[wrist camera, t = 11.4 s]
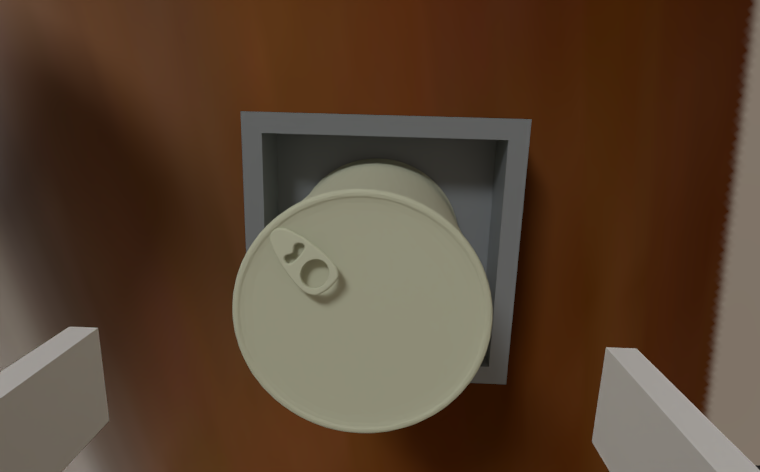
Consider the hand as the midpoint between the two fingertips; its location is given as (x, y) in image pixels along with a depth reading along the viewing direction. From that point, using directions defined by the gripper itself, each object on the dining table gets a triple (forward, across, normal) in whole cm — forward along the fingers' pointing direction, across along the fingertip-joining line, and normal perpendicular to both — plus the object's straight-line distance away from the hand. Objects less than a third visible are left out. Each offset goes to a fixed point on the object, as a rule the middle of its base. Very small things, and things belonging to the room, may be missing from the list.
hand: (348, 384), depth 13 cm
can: (+16, 0, 0) cm, 16 cm away
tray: (+17, 0, 0) cm, 17 cm away
